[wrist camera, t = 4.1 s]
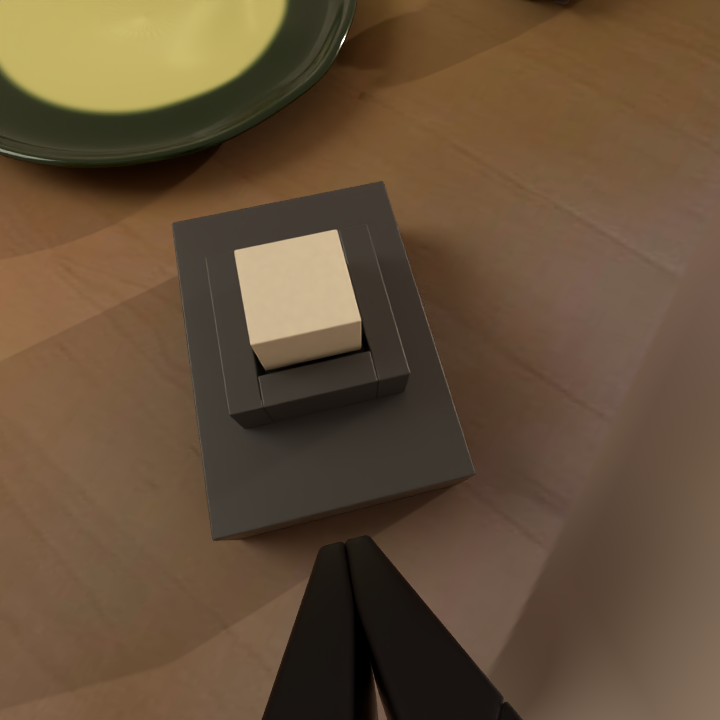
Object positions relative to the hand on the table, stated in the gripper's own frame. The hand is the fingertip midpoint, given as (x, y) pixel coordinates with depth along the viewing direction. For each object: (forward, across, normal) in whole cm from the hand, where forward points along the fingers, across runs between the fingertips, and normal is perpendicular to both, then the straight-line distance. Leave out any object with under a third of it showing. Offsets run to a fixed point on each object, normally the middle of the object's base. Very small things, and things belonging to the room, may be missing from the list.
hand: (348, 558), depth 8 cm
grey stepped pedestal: (+15, 0, +4) cm, 16 cm away
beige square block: (+11, 0, 0) cm, 11 cm away
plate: (+34, +6, -15) cm, 38 cm away
